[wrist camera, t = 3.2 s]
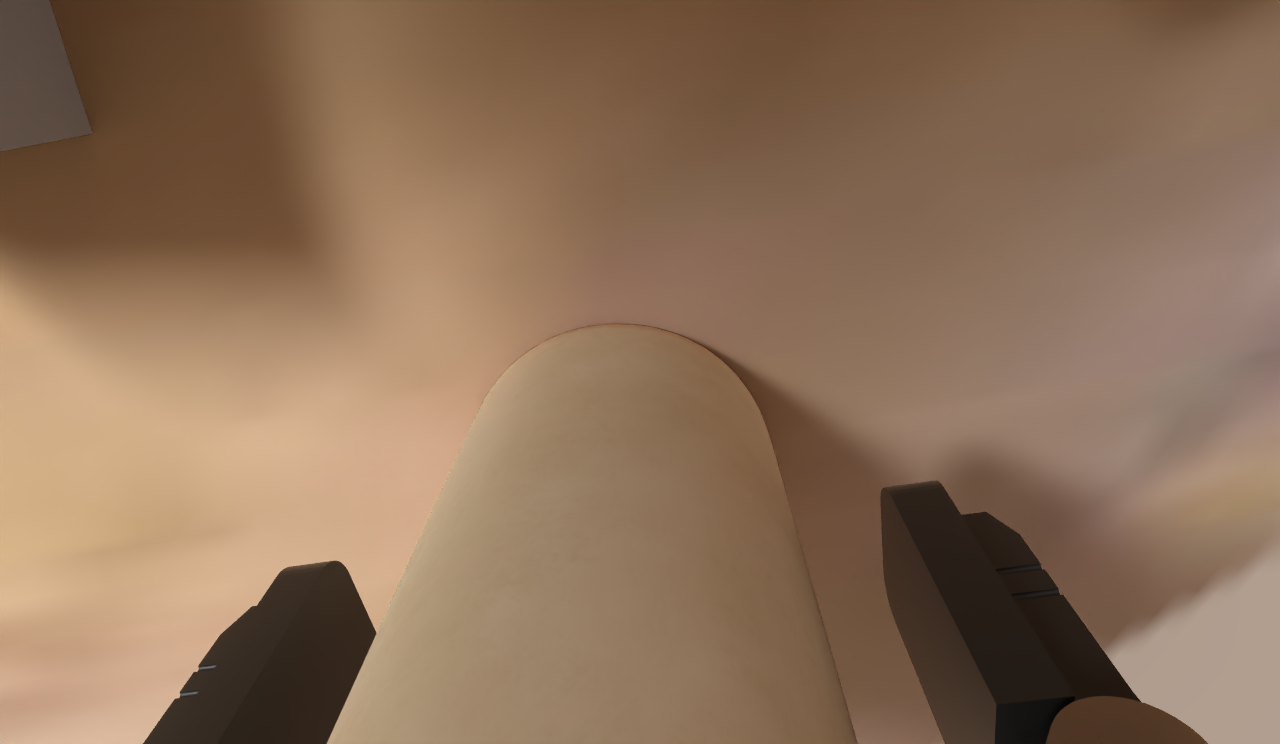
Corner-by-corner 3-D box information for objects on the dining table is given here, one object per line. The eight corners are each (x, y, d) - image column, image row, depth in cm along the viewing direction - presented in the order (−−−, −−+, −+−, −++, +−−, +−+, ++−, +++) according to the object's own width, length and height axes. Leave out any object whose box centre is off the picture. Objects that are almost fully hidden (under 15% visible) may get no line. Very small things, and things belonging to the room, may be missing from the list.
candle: (514, 276, 12) (97, 1042, 3) (817, 373, 13) (1221, 1231, 4) (447, 527, 14) (95, 1388, 5) (706, 597, 15) (786, 1463, 6)
